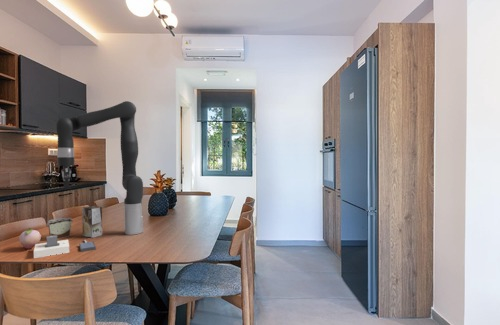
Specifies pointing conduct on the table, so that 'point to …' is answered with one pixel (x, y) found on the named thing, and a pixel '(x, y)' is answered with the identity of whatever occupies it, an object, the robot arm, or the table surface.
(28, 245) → the decorative fruit
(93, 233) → the coffee box
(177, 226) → the table surface
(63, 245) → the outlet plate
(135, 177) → the robot arm
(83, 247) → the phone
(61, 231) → the food container
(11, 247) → the table surface
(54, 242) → the charger
